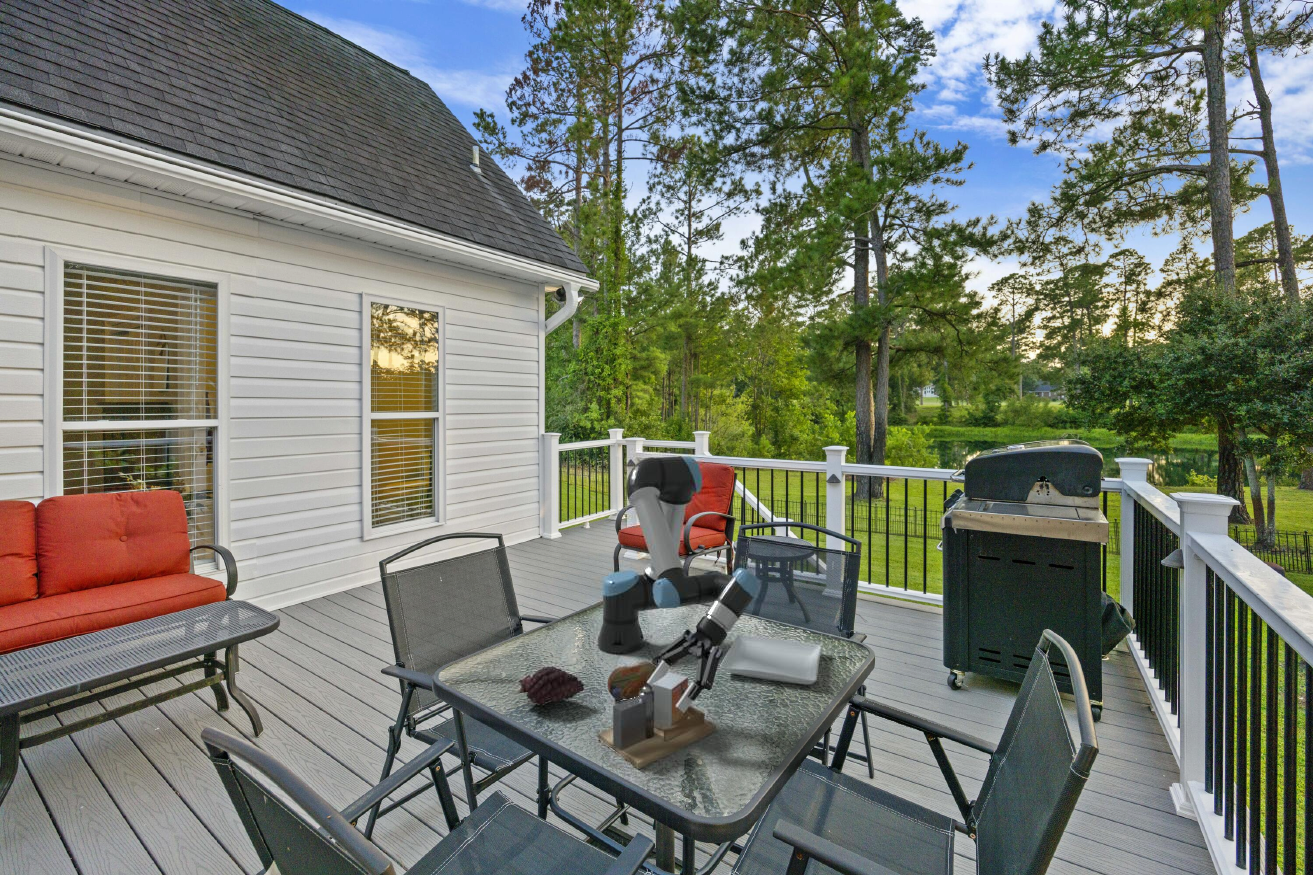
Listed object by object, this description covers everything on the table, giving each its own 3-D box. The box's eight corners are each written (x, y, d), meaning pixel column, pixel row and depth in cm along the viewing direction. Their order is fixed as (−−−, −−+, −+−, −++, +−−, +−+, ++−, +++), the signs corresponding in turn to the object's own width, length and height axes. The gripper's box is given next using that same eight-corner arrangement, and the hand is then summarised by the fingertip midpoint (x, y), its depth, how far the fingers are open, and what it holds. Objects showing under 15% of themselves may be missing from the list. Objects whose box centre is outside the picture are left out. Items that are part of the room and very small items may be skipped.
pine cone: (587, 696, 161) (587, 660, 161) (579, 715, 151) (579, 677, 151) (523, 694, 163) (522, 658, 162) (511, 712, 153) (510, 674, 152)
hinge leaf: (612, 744, 136) (612, 695, 135) (647, 728, 143) (647, 682, 142) (622, 751, 133) (621, 701, 133) (657, 734, 140) (657, 687, 139)
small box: (671, 733, 140) (671, 689, 140) (651, 726, 143) (651, 683, 143) (688, 718, 147) (688, 676, 147) (669, 712, 150) (669, 671, 150)
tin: (610, 704, 158) (610, 672, 157) (605, 699, 160) (605, 668, 160) (661, 691, 164) (661, 661, 164) (655, 687, 167) (655, 657, 167)
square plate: (816, 693, 164) (816, 679, 164) (718, 678, 173) (718, 665, 173) (822, 654, 190) (822, 642, 190) (737, 643, 199) (737, 632, 199)
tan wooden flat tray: (598, 740, 140) (598, 723, 140) (674, 707, 156) (674, 692, 156) (637, 769, 129) (637, 751, 129) (716, 730, 144) (716, 714, 144)
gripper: (756, 649, 141) (703, 729, 134) (697, 617, 163) (648, 684, 156) (738, 632, 138) (683, 712, 131) (680, 601, 160) (630, 668, 153)
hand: (664, 697), depth 144 cm, fingers open, 13 cm apart
